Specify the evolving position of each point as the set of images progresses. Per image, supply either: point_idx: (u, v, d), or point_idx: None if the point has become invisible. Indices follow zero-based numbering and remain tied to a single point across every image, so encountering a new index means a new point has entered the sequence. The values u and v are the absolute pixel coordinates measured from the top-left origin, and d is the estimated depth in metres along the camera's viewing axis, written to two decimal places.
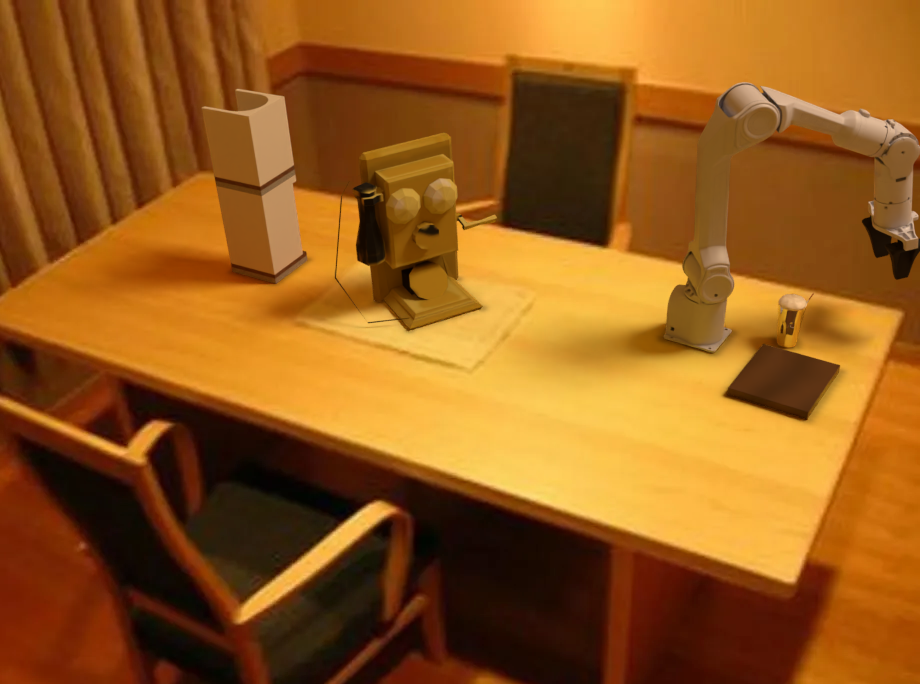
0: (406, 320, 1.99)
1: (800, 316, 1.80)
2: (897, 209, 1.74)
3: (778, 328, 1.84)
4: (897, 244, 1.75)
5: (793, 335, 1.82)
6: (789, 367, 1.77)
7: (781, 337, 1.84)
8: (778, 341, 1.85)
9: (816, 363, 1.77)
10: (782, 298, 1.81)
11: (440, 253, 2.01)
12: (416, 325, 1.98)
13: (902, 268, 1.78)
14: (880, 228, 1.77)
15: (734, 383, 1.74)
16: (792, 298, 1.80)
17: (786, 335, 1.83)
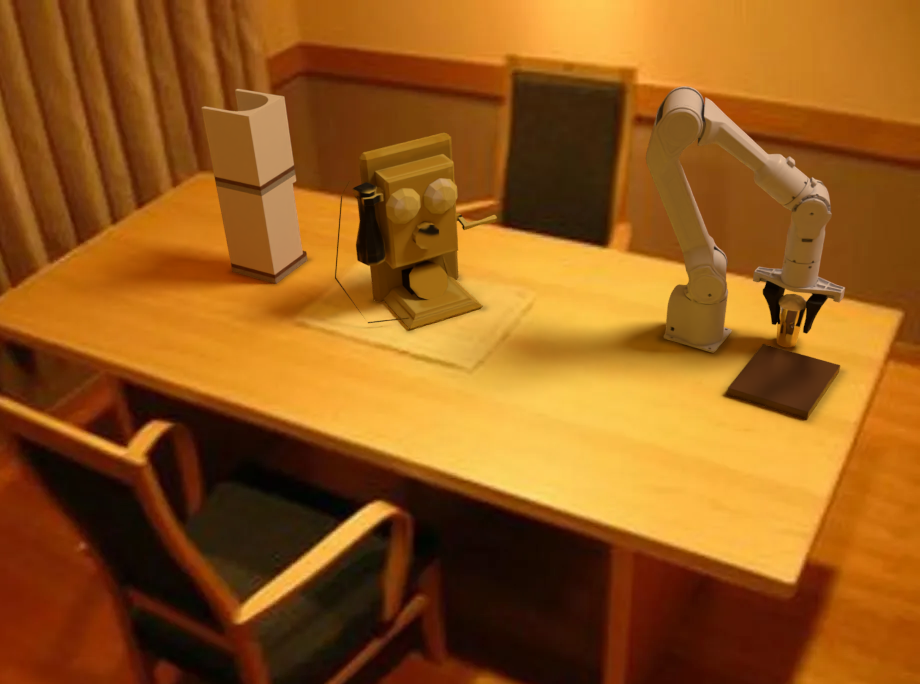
0: (406, 320, 1.99)
1: (800, 316, 1.80)
2: (817, 266, 1.74)
3: (778, 328, 1.84)
4: (815, 298, 1.77)
5: (793, 335, 1.82)
6: (789, 367, 1.77)
7: (781, 337, 1.84)
8: (778, 341, 1.85)
9: (816, 363, 1.77)
10: (782, 298, 1.81)
11: (440, 253, 2.01)
12: (416, 325, 1.98)
13: (811, 320, 1.80)
14: (802, 289, 1.76)
15: (734, 383, 1.74)
16: (792, 298, 1.80)
17: (786, 335, 1.83)
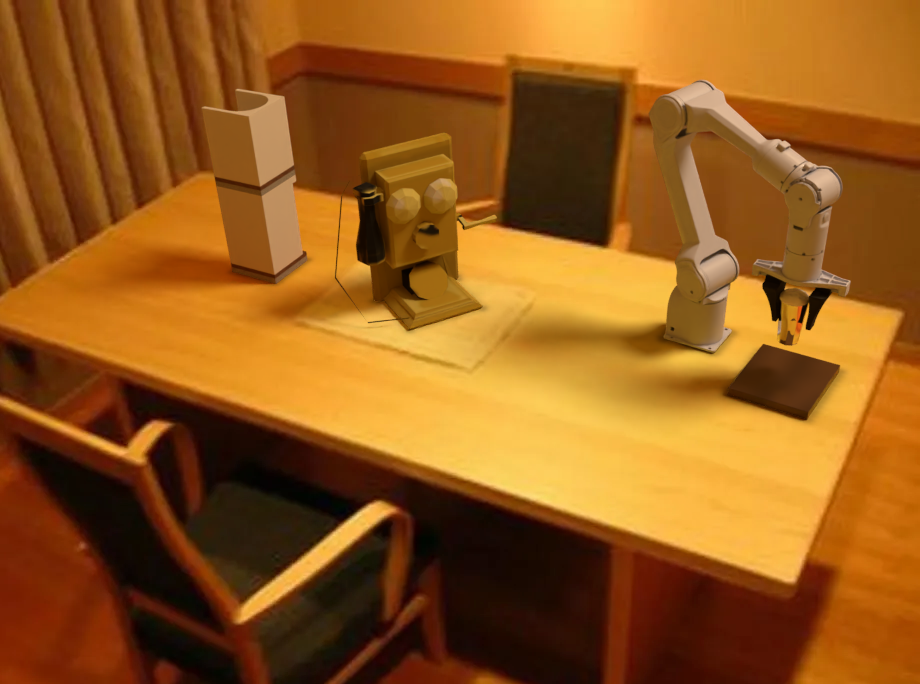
0: (406, 320, 1.99)
1: (803, 312, 1.68)
2: (821, 258, 1.63)
3: (779, 325, 1.72)
4: (818, 292, 1.65)
5: (795, 332, 1.71)
6: (789, 367, 1.77)
7: (782, 334, 1.72)
8: (779, 339, 1.73)
9: (816, 363, 1.77)
10: (783, 293, 1.69)
11: (440, 253, 2.01)
12: (416, 325, 1.98)
13: (814, 316, 1.69)
14: (805, 283, 1.64)
15: (734, 383, 1.74)
16: (794, 293, 1.68)
17: (787, 332, 1.71)
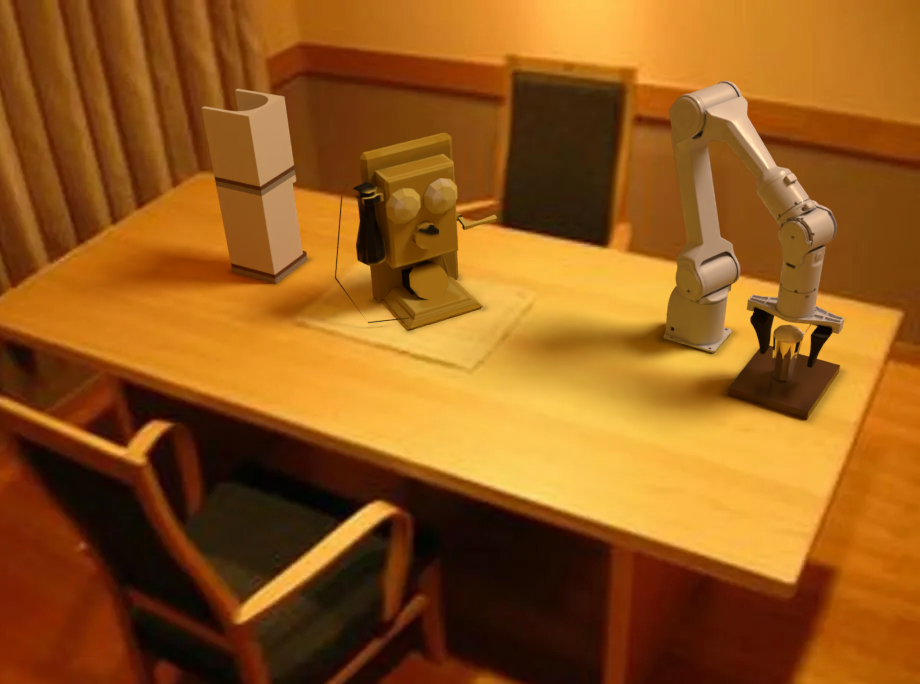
0: (406, 320, 1.99)
1: (797, 349, 1.70)
2: (815, 295, 1.64)
3: (773, 361, 1.73)
4: (820, 330, 1.66)
5: (789, 368, 1.72)
6: None
7: (776, 370, 1.73)
8: (773, 374, 1.74)
9: (816, 363, 1.77)
10: (777, 329, 1.70)
11: (440, 253, 2.01)
12: (416, 325, 1.98)
13: None
14: (799, 319, 1.65)
15: (734, 383, 1.74)
16: (788, 330, 1.70)
17: (782, 368, 1.72)
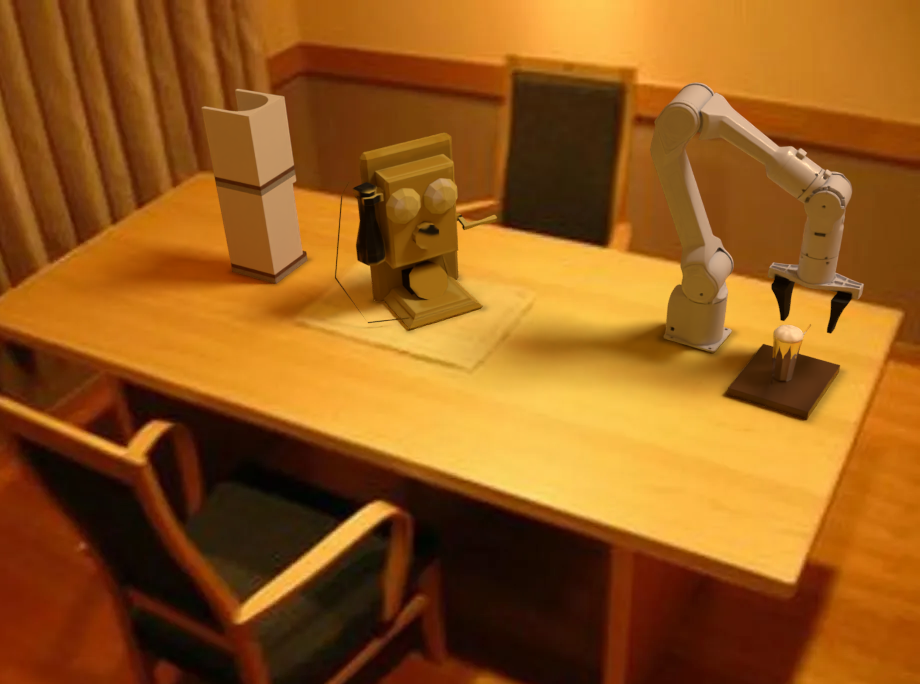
0: (406, 320, 1.99)
1: (797, 349, 1.70)
2: (835, 262, 1.68)
3: (773, 361, 1.73)
4: (839, 296, 1.70)
5: (789, 368, 1.72)
6: None
7: (776, 370, 1.73)
8: (773, 374, 1.74)
9: (816, 363, 1.77)
10: (777, 329, 1.70)
11: (440, 253, 2.01)
12: (416, 325, 1.98)
13: (835, 320, 1.74)
14: (819, 286, 1.70)
15: (734, 383, 1.74)
16: (788, 330, 1.70)
17: (782, 368, 1.72)
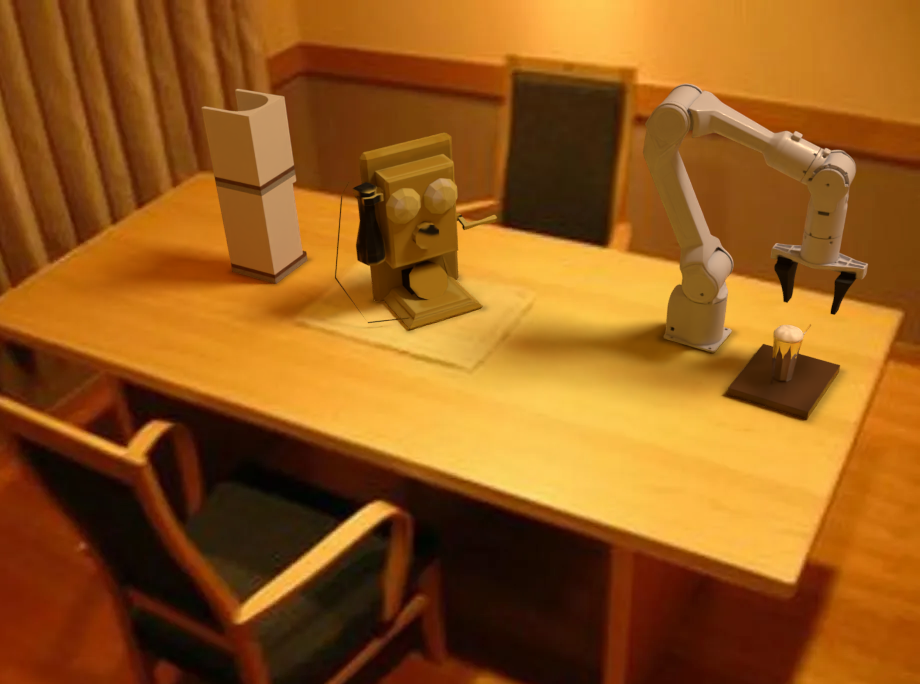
0: (406, 320, 1.99)
1: (797, 349, 1.70)
2: (839, 241, 1.66)
3: (773, 361, 1.73)
4: (843, 277, 1.68)
5: (789, 368, 1.72)
6: None
7: (776, 370, 1.73)
8: (773, 374, 1.74)
9: (816, 363, 1.77)
10: (777, 329, 1.70)
11: (440, 253, 2.01)
12: (416, 325, 1.98)
13: (839, 301, 1.72)
14: (823, 266, 1.68)
15: (734, 383, 1.74)
16: (788, 330, 1.70)
17: (782, 368, 1.72)
